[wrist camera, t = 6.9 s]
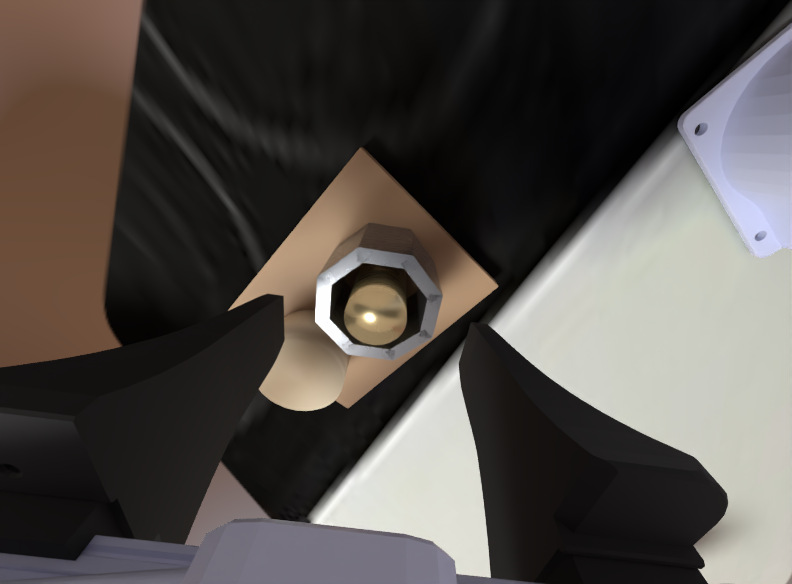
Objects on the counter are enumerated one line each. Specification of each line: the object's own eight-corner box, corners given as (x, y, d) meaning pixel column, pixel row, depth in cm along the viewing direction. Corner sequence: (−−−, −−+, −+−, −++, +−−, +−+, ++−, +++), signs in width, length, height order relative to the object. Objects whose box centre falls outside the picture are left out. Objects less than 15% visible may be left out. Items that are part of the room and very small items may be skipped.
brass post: (416, 275, 17) (419, 318, 13) (383, 305, 17) (377, 355, 13) (380, 243, 16) (372, 278, 12) (348, 276, 17) (331, 319, 13)
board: (493, 279, 18) (516, 314, 14) (350, 397, 22) (339, 447, 18) (362, 146, 15) (350, 148, 11) (227, 313, 19) (186, 353, 16)
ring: (440, 233, 16) (451, 261, 12) (421, 320, 18) (425, 365, 14) (338, 217, 15) (318, 241, 12) (332, 307, 18) (313, 349, 14)
